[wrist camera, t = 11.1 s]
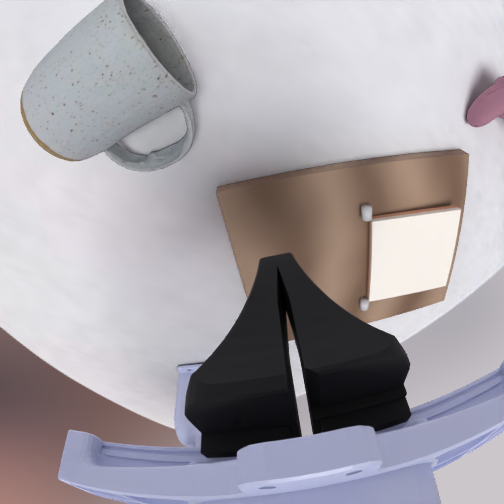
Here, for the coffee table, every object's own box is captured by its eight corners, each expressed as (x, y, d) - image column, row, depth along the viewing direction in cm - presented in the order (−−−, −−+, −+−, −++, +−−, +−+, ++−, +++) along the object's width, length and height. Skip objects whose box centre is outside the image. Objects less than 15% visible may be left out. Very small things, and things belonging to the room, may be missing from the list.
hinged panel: (443, 294, 24) (440, 288, 24) (462, 197, 18) (457, 192, 19) (361, 311, 25) (359, 305, 26) (362, 209, 19) (359, 204, 20)
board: (261, 336, 29) (262, 345, 28) (217, 186, 20) (216, 193, 19) (439, 293, 27) (443, 300, 26) (460, 149, 19) (469, 154, 18)
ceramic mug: (59, 75, 14) (-12, 90, 8) (152, 2, 12) (106, -30, 6) (132, 185, 20) (90, 243, 14) (230, 127, 18) (226, 160, 12)
